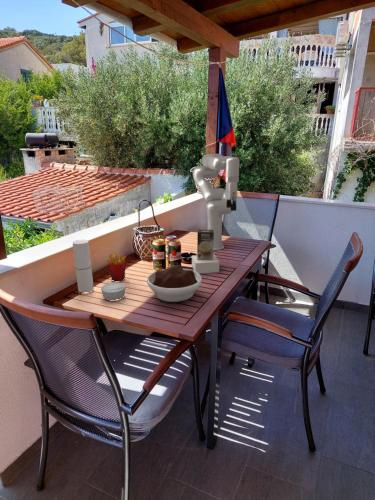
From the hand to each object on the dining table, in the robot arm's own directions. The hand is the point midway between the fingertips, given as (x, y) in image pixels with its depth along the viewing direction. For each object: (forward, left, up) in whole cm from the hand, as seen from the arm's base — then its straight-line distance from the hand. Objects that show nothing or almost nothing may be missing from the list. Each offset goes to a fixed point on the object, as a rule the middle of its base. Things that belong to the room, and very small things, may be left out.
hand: (231, 209), depth 200 cm
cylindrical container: (+36, -81, -31) cm, 94 cm away
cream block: (+16, -18, -30) cm, 39 cm away
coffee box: (+16, -18, -24) cm, 34 cm away
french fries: (+26, -66, -31) cm, 77 cm away
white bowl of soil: (+49, -39, -31) cm, 70 cm away
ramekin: (+45, -67, -31) cm, 86 cm away
